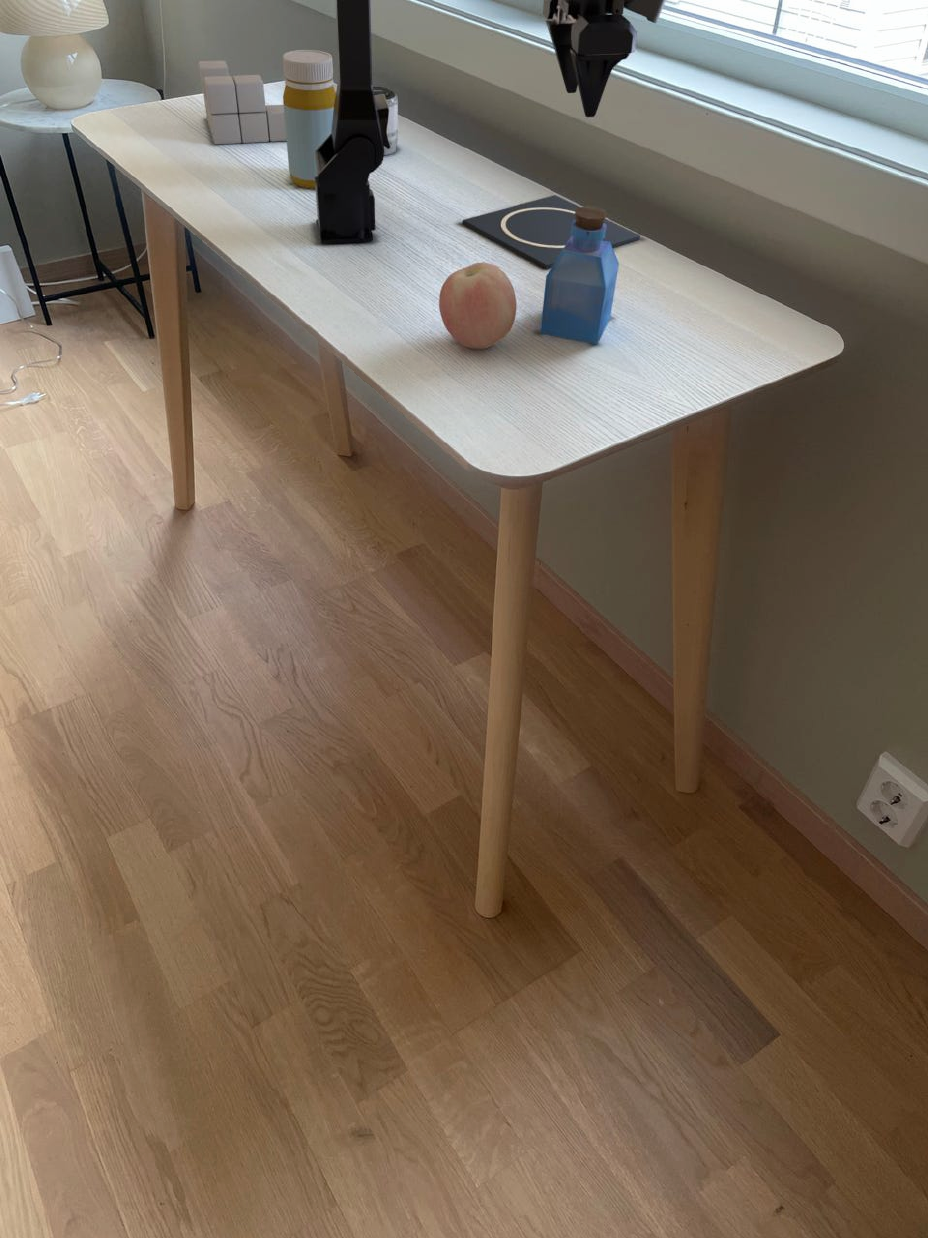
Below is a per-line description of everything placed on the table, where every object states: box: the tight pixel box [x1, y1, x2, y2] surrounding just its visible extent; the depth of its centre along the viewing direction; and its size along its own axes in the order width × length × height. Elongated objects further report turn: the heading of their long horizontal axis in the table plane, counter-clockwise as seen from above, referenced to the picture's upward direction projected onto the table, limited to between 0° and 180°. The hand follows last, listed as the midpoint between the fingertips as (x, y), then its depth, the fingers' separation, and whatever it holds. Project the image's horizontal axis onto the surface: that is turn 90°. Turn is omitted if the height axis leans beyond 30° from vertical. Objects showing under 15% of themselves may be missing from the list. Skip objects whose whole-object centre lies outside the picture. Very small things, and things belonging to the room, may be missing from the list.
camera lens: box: [373, 86, 399, 156], centre depth 134 cm, size 6×6×8 cm
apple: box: [438, 261, 517, 350], centre depth 93 cm, size 8×8×8 cm
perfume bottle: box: [539, 205, 620, 345], centre depth 95 cm, size 6×6×12 cm
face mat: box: [462, 194, 641, 270], centre depth 117 cm, size 16×16×1 cm
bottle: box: [282, 49, 336, 190], centre depth 121 cm, size 7×7×15 cm
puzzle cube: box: [198, 60, 287, 145], centre depth 138 cm, size 12×12×8 cm
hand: (580, 104), depth 108 cm, fingers open, 9 cm apart
